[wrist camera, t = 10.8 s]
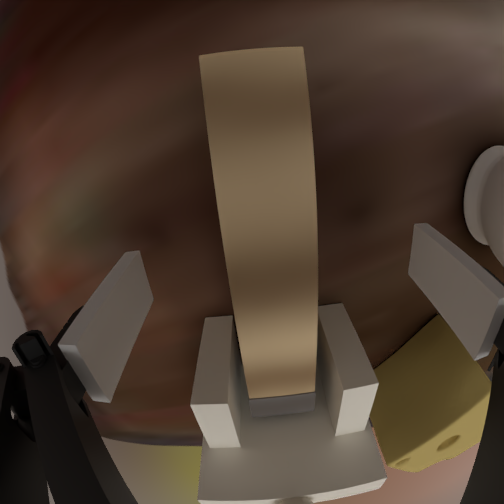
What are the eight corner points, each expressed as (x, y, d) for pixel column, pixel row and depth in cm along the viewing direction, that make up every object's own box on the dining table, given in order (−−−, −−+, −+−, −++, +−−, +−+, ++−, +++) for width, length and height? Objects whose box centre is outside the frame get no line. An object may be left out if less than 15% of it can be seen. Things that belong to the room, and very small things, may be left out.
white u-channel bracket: (198, 317, 21) (165, 504, 9) (348, 301, 21) (425, 472, 8) (215, 382, 24) (204, 534, 12) (341, 369, 24) (385, 513, 11)
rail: (213, 78, 15) (197, 55, 9) (284, 71, 15) (304, 45, 9) (250, 356, 23) (252, 417, 18) (301, 350, 23) (314, 410, 17)
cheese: (400, 410, 28) (427, 478, 19) (350, 379, 25) (380, 470, 16) (470, 352, 25) (513, 415, 16) (438, 304, 22) (501, 383, 13)
